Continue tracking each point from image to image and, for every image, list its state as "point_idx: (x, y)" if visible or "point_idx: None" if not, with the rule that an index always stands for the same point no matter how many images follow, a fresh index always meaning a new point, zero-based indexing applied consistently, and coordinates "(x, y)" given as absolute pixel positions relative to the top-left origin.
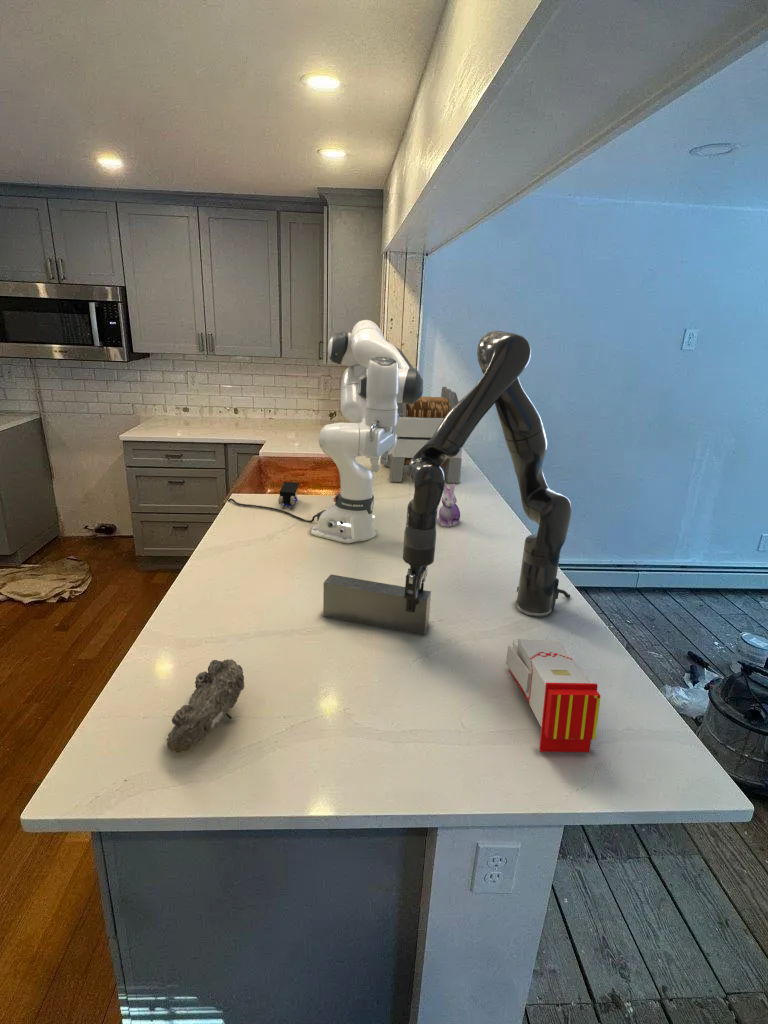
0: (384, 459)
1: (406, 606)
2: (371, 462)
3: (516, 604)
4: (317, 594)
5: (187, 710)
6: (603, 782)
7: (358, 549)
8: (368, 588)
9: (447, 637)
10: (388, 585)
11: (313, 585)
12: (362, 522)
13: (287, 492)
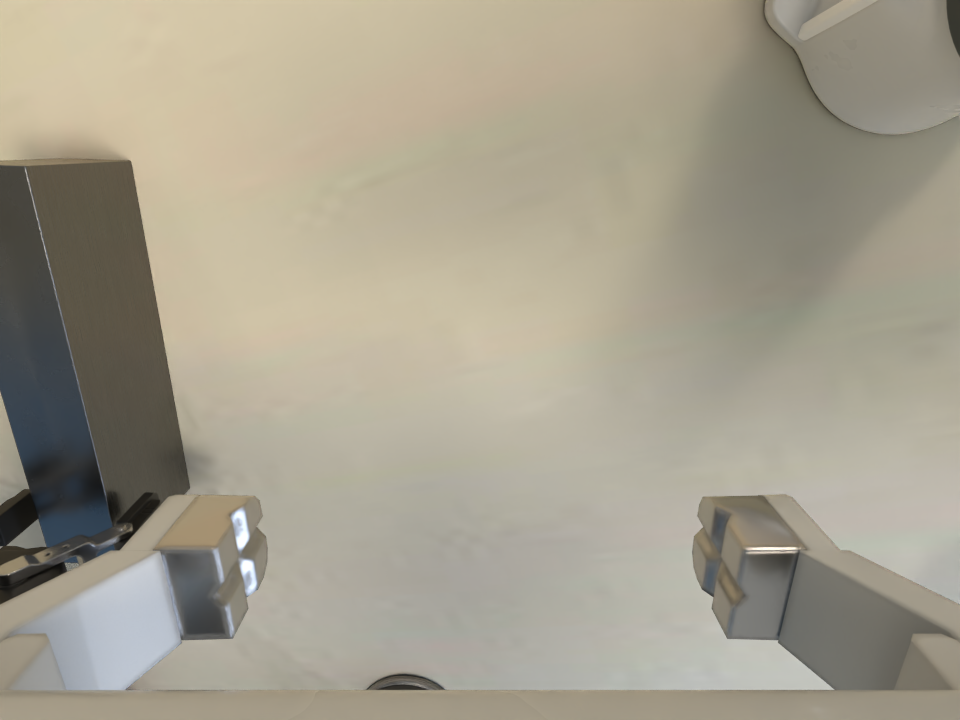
0: (723, 603)
1: (14, 498)
2: (33, 605)
3: (390, 683)
4: (193, 69)
5: None
6: None
7: (702, 96)
8: (7, 364)
9: None
10: (77, 427)
11: (257, 17)
12: (894, 64)
13: None
